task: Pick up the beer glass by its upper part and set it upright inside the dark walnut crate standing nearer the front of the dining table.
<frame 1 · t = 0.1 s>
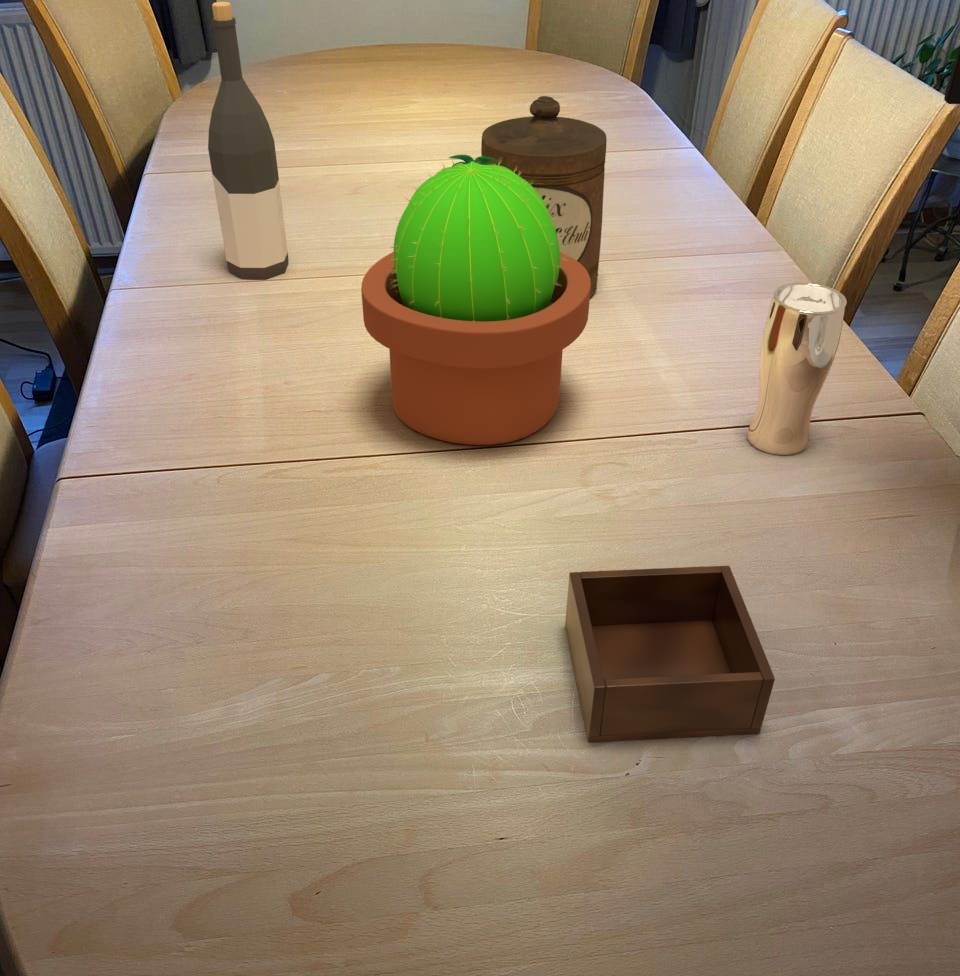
wooden container: (538, 287, 131), on the table
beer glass: (776, 441, 104), on the table
potted cactus: (476, 405, 109), on the table
crate: (657, 676, 79), on the table
wine bottle: (259, 269, 135), on the table
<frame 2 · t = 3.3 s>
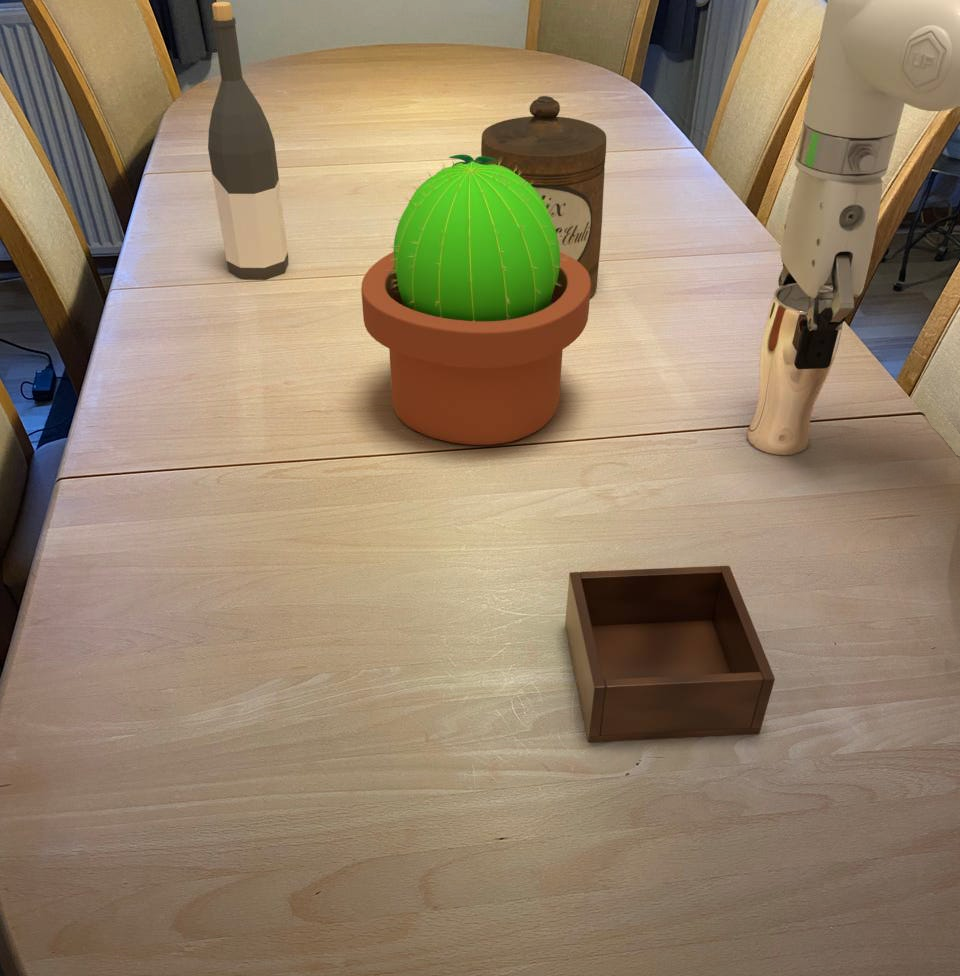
hand: (798, 346, 97), 10 cm above the table, tool pointing down, fingers closed on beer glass, 7 cm apart
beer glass: (776, 441, 104), on the table, touching gripper
everything else where it was.
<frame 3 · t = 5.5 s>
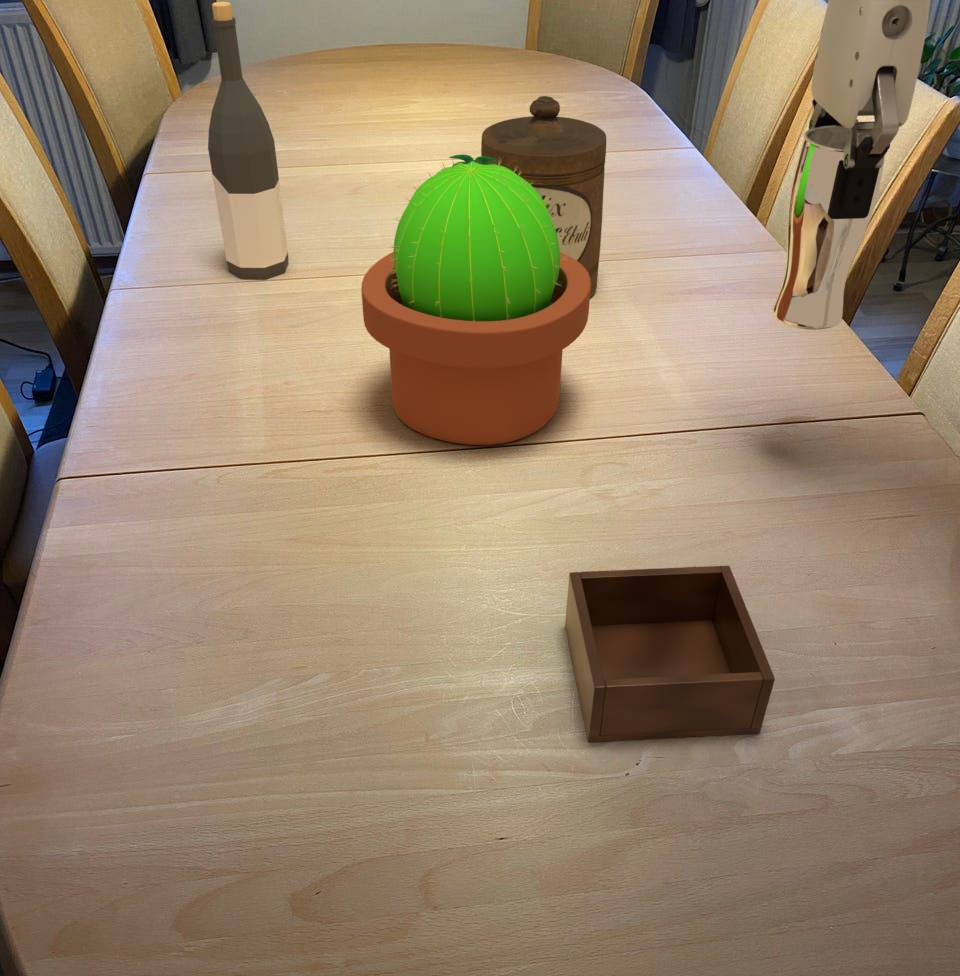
hand: (832, 198, 86), 25 cm above the table, tool pointing down, fingers closed on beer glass, 7 cm apart
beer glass: (806, 317, 93), point 14 cm above the table, touching gripper
everything else where it was.
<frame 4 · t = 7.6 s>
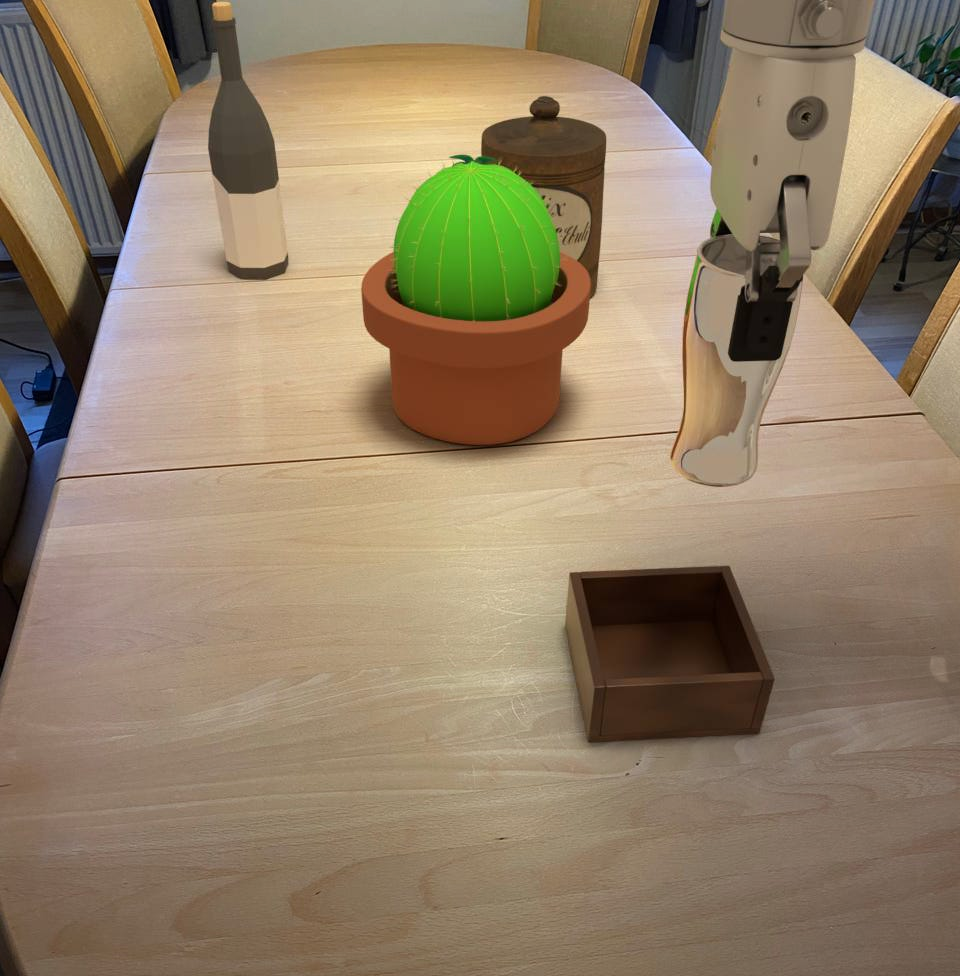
hand: (738, 328, 66), 26 cm above the table, tool pointing down, fingers closed on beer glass, 7 cm apart
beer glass: (712, 465, 73), point 15 cm above the table, touching gripper
everything else where it was.
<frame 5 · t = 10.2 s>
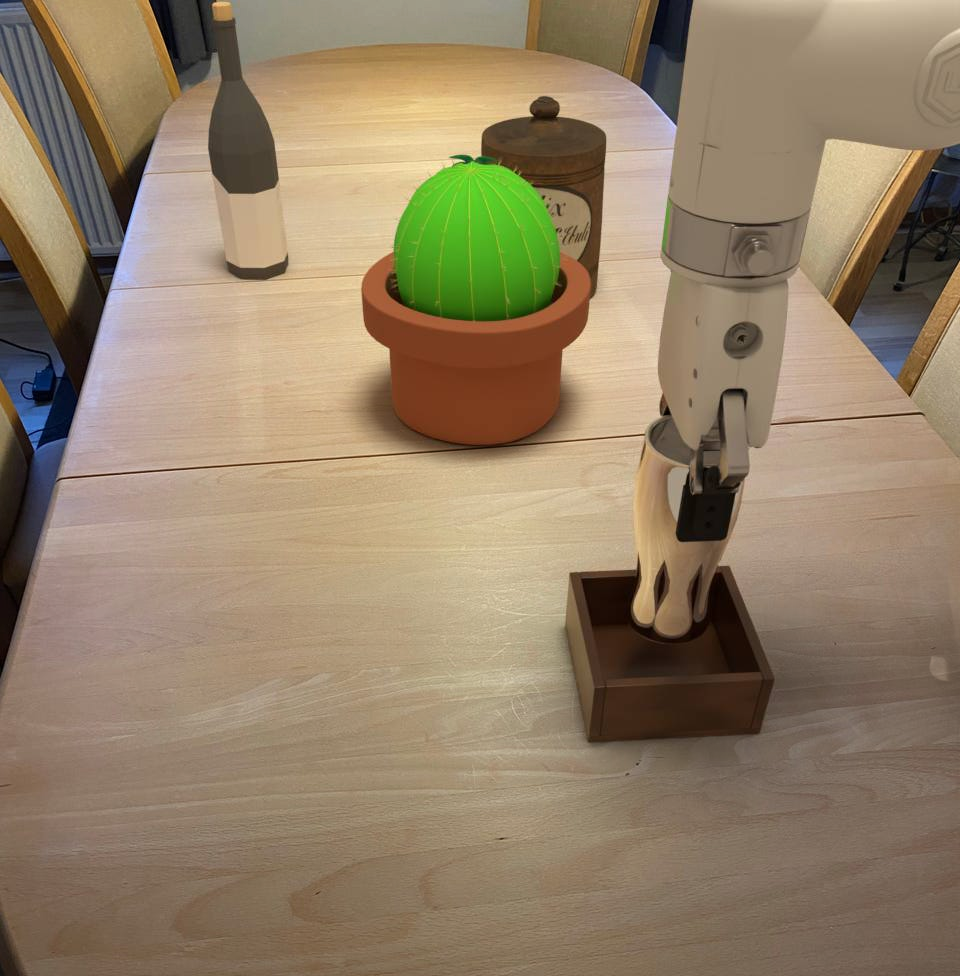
hand: (687, 501, 68), 16 cm above the table, tool pointing down, fingers closed on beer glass, 7 cm apart
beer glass: (666, 619, 75), point 6 cm above the table, touching gripper
everything else where it was.
when the fingers open (11 cm above the table, at t = 12.1 s): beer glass stays where it is, resting on crate.
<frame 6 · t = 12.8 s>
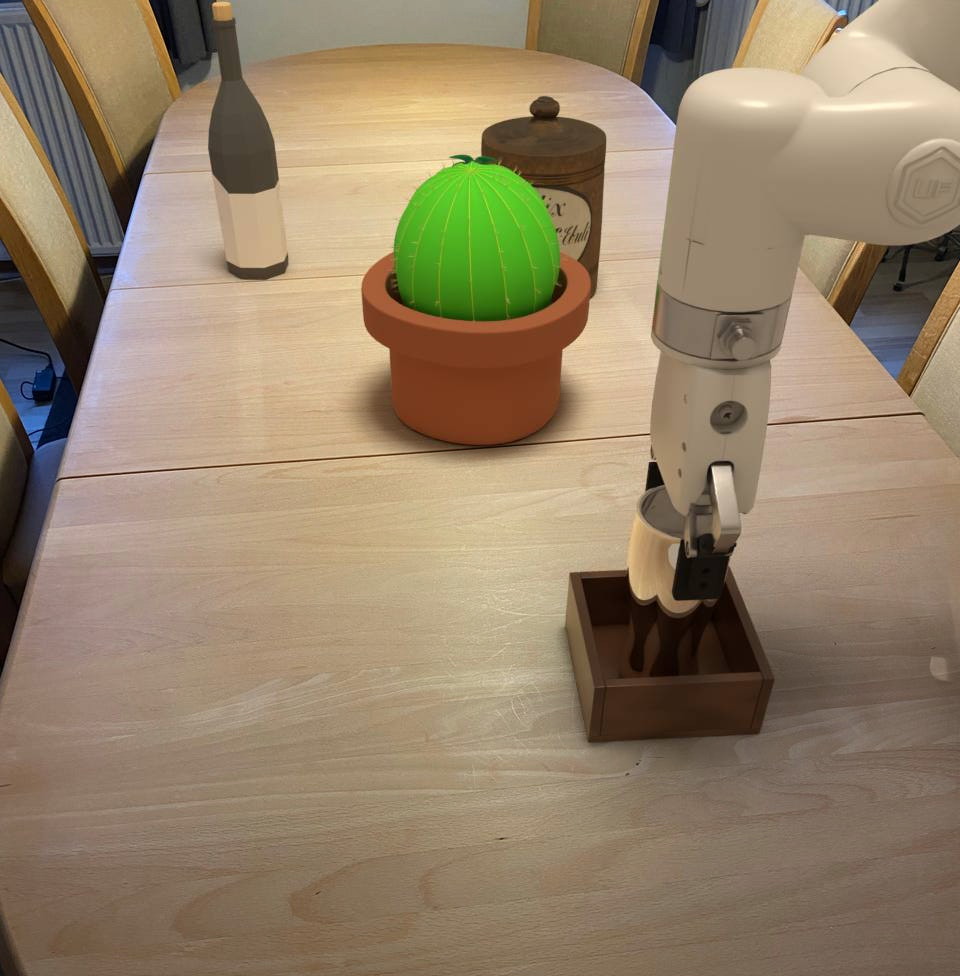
hand: (679, 551, 71), 12 cm above the table, tool pointing down, fingers open, 9 cm apart
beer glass: (658, 672, 79), resting on crate
everything else where it was.
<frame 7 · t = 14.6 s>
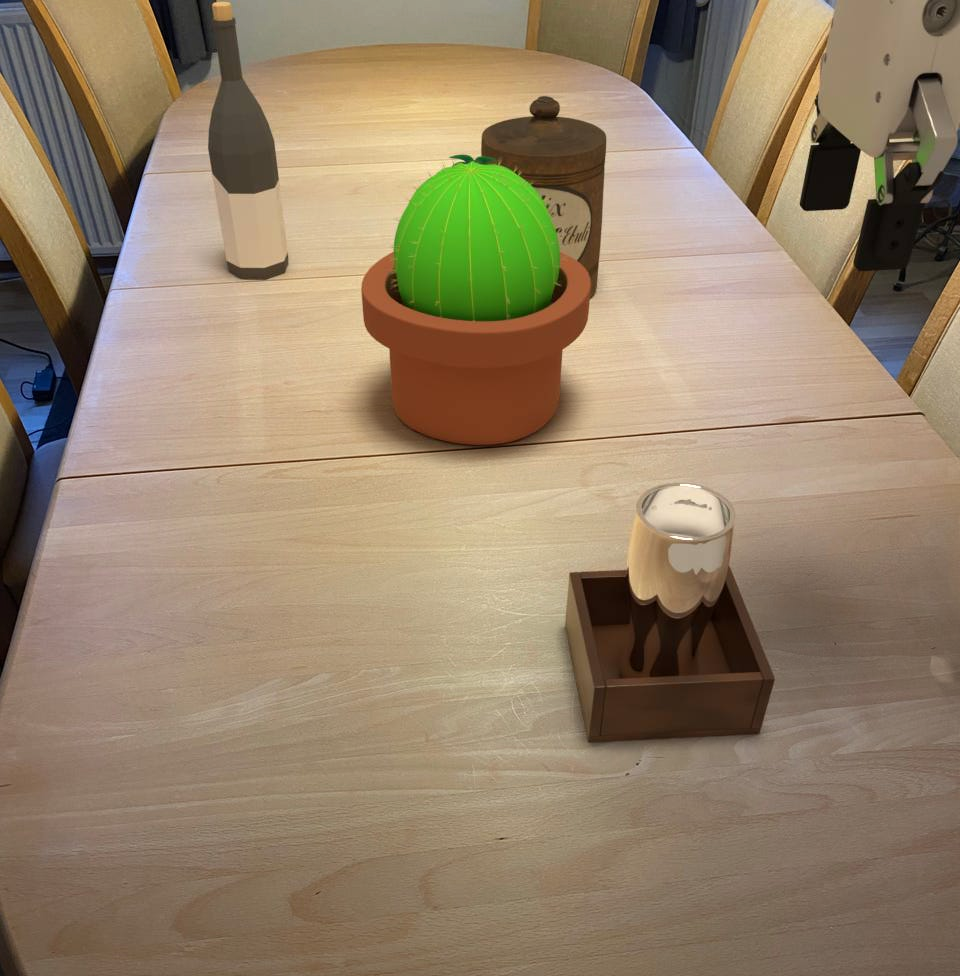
hand: (849, 236, 65), 30 cm above the table, tool pointing down, fingers open, 9 cm apart
nothing on the table moved.
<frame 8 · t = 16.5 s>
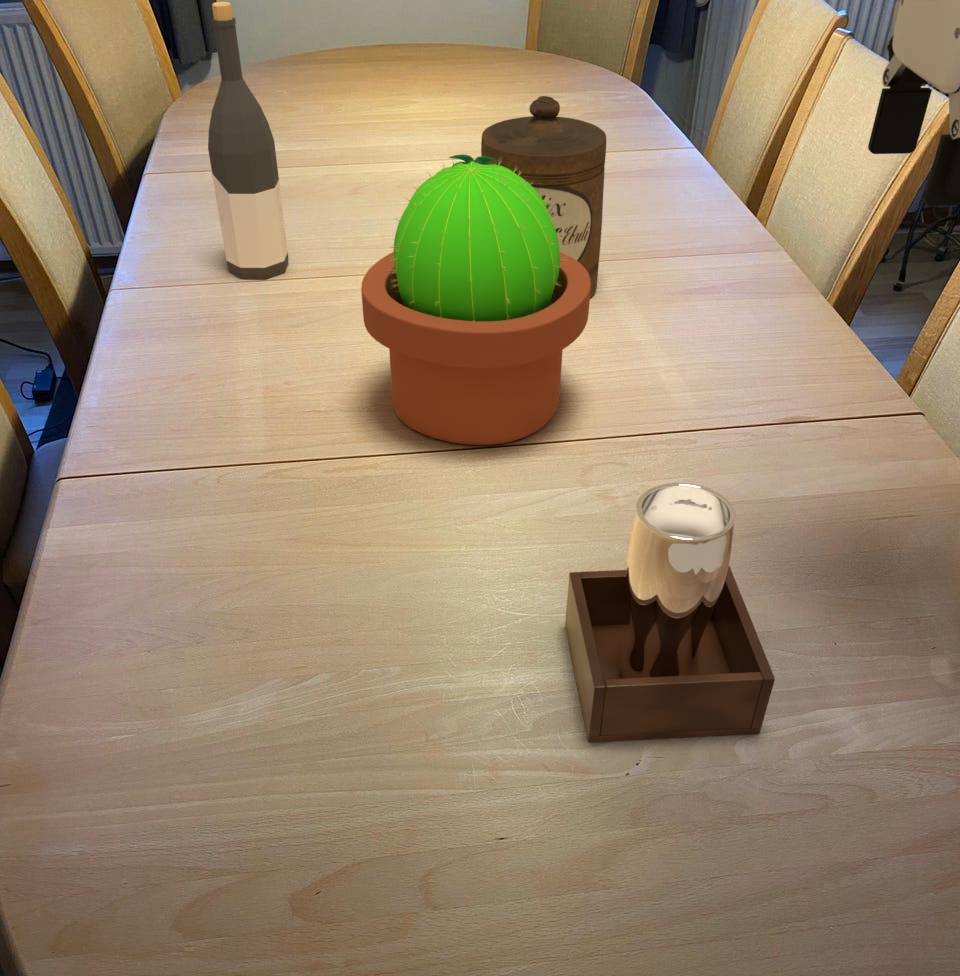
hand: (917, 176, 67), 32 cm above the table, tool pointing down, fingers open, 9 cm apart
nothing on the table moved.
at the end: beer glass inside the target area in the crate (0.0 cm from its centre), point 0.4 cm above the crate's base; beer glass tilted 0°; the gripper is holding nothing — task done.
